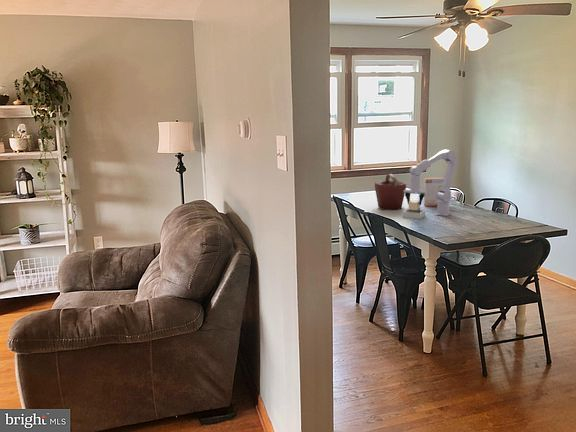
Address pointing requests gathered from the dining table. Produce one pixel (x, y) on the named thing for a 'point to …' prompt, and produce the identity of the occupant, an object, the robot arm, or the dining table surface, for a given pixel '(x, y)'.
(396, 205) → the bucket
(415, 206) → the carton
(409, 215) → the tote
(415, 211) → the metal block
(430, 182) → the cracker box
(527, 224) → the dining table surface
